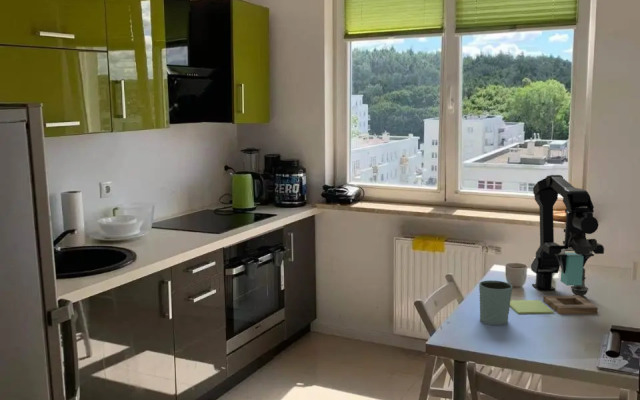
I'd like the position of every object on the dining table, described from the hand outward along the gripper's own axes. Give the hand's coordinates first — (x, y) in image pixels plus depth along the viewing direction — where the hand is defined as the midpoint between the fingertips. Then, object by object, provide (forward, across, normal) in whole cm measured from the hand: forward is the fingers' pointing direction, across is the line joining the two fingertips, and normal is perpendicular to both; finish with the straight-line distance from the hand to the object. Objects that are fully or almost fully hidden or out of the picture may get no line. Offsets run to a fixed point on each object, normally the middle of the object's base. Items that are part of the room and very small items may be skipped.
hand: (571, 273), depth 214 cm
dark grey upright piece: (+12, +8, +10) cm, 18 cm away
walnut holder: (+12, 0, 0) cm, 12 cm away
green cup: (+12, -30, -12) cm, 34 cm away
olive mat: (+12, -14, 0) cm, 18 cm away
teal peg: (+4, 0, 0) cm, 4 cm away
